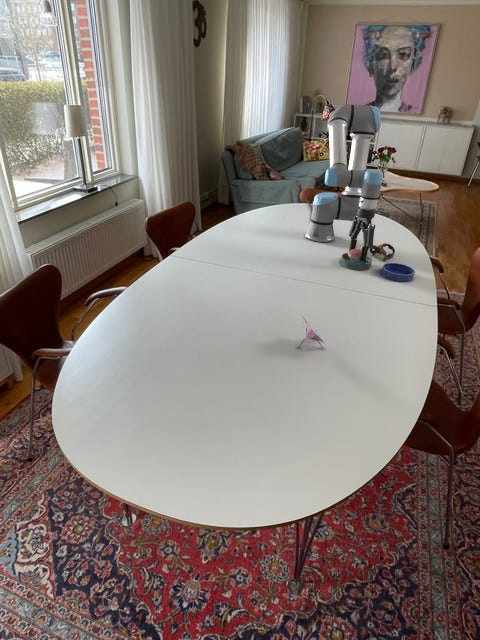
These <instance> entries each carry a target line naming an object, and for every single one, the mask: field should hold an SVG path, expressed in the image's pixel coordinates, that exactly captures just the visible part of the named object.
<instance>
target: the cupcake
mask: <svg viewBox="0 0 480 640" xmlns="http://www.w3.org/2000/svg"><path fill="white" fill-rule="evenodd" d="M362 246H364V241H363V242H362V245H361V247H360V248H355V249H352V250H350V251H349V250H348V252H347V253H348V256H349V257H350V262H353V263H362V262H363V261H360V256H361V251H362ZM367 256H368V255H367ZM367 256H366V258H367Z"/></svg>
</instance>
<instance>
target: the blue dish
mask: <svg viewBox="0 0 480 640" xmlns="http://www.w3.org/2000/svg"><path fill="white" fill-rule="evenodd" d="M380 274H381V275H382V276H383V277H385V278H386V279H388V280H392V281H395V282H410V281H412V280H413V279H414V277H415V274H416V270H415V269H414V268H413V267H411V266H410V265H407V264H404V263H399V262H386V263H383V264H382V266H381V270H380Z"/></svg>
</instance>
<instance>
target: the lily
mask: <svg viewBox="0 0 480 640" xmlns="http://www.w3.org/2000/svg"><path fill="white" fill-rule="evenodd" d="M300 316H301V318H302V319H303V320H304V322H305V323H304V322H303V323H301V324H302V325H303V326H304V327H305V337H304V339H302V341H301V342H300V343H299V345H298V347H297V348H298V349H300V347H301V346H302V344H303V343H304V342H305V340H306V339H307V340H308V339H310V340H313V341H315V342H317V343H318V345H319V346H320V348H321V349H324V347H323V345H322V343H323V344H324V345H327V344H326V342H324V339H322V337H321V336H320V335H318V334H317V331H318V330H316V329H315V331H314V330H313V328H312V327H311V325H310V324H309V322H308V321H307V319H306V318H305V317H304V316H303V315H301V314H300Z"/></svg>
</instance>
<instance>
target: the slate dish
mask: <svg viewBox="0 0 480 640" xmlns="http://www.w3.org/2000/svg"><path fill="white" fill-rule="evenodd" d="M372 262H373V259H372V258H371V257H370V256H369V255H367V258H366V260H365V261H363V262H362V263H353V262H350V257H349V256H348V252H344V253H343V254H341V257H340V264H341V265H342V266H343V267H345V268H347V269H350V270H355V271H364V270H365V271H366V270H369V269H370V268H371V267H372Z"/></svg>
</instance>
